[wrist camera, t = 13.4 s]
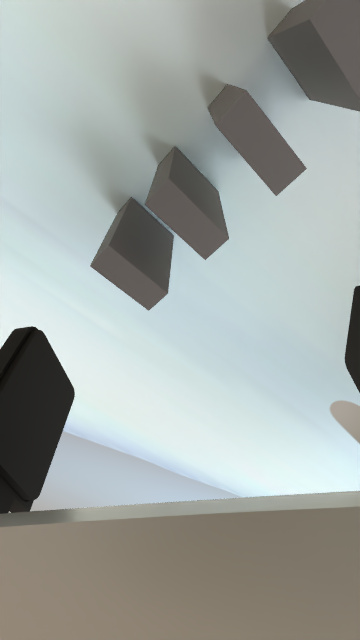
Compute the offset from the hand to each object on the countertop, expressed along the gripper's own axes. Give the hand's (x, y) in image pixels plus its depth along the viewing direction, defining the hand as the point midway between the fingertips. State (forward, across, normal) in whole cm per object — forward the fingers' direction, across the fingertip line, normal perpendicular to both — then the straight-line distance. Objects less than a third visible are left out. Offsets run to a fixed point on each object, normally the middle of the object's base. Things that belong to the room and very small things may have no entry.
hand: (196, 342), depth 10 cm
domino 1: (+22, +5, +4) cm, 22 cm away
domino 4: (+22, -8, -6) cm, 24 cm away
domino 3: (+22, -4, -3) cm, 22 cm away
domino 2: (+22, 0, 0) cm, 22 cm away
